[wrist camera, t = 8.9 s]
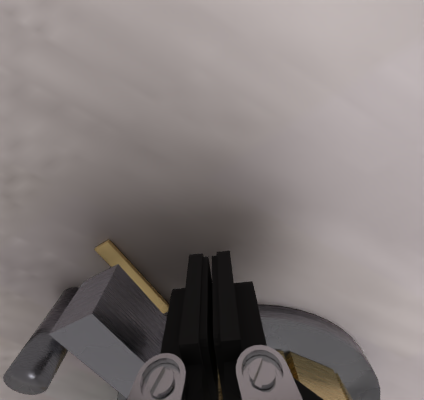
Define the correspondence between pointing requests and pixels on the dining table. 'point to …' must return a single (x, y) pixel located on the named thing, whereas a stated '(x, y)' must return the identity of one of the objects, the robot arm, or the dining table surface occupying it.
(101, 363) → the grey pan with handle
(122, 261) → the housing
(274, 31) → the dining table surface
